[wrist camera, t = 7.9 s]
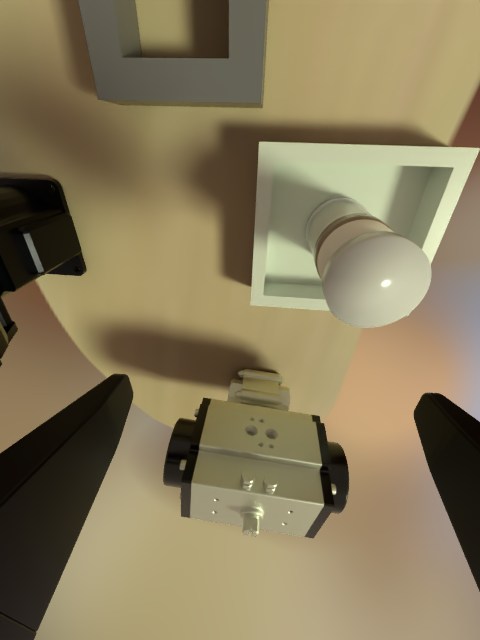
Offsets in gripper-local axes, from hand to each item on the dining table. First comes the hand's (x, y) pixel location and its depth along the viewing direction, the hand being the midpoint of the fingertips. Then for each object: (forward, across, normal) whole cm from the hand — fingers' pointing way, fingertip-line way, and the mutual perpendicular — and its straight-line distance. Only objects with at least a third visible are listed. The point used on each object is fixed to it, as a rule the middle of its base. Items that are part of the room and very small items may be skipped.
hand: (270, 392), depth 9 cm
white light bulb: (+12, -4, -2) cm, 13 cm away
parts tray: (+13, -4, -2) cm, 13 cm away
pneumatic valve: (+13, 0, +12) cm, 18 cm away
